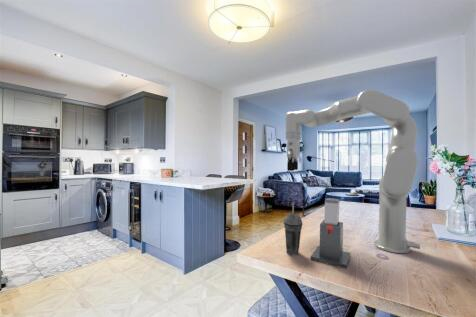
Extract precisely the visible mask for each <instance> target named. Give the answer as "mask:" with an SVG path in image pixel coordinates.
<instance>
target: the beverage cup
mask: <svg viewBox="0 0 476 317" xmlns="http://www.w3.org/2000/svg"><path fill="white" fill-rule="evenodd" d="M291 204H292V206H291V207H292V212H290V213H287V215H285V217H284V220H283V227H284V232H285V233H284V234H285V236H284V237H285V248H286V253H287V254H288V255H290V256H291V255H293V256H297V255H299V250H300V244H301V243H300V242H301V235H302V229H303V219H302V218H301V215H299V214H298V213H296V212H295V202H292V203H291Z"/></svg>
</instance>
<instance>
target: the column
mask: <svg viewBox="0 0 476 317" xmlns="http://www.w3.org/2000/svg"><path fill="white" fill-rule="evenodd" d="M324 220H325V221H324V224H328V225H334V226H338V225H339V222H340V199H339V198H332V197H331V198H330V197H327V198H325V199H324Z"/></svg>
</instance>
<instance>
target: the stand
mask: <svg viewBox="0 0 476 317" xmlns="http://www.w3.org/2000/svg"><path fill="white" fill-rule="evenodd" d="M324 221H325V219H323V220H322V221H321V222H320V224H319V245H318V246H317V247H316V248H315V249H314V251H313V252H312V254H311V256H310V260H311V261H314V262H318V263H322V264H326V265H330V266H335V267H338V268H343V269H348V266H349V262H350V259H351V252H350V251H349V252H348V251H344V250H343V247H344V246H343V245H344V243H343V242H344V222H341V221H339V225H338V226H334V225H328V224H324Z"/></svg>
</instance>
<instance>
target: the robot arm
mask: <svg viewBox="0 0 476 317" xmlns="http://www.w3.org/2000/svg"><path fill="white" fill-rule="evenodd" d="M369 113H370V114H373V115H375V116H377V117H380V118H382V121H383V122H384V124H386V125H387V126H388V127H390V128H391V132H392V134H391V139H390V144H389V147H388V152H387V154H386V157H385V159H386V160H385V161H386V165H385V170H384V173H383V176H381V178H380V179H379V184H378V190H379V195H378V196H379V205H378V206H379V208H378V239H375V240H374V242H373V244H374V246H375V247H376V248H378V249H381V250H383V251H385V252H389V253H395V254H408V253H410V252H411V248H413V249H418V250H421V244H420V243H416V241H410V240H408V239H407V236H406V235H407V234H406V233H407V195H409V193H410V192H411V190H412V187H413V184H414V183H413V182H414V179H415V177H416V176H415V175H416V171H417V167H418V163H419V162H418V161H419V160H418V155H417V153H416V152H415V148H416V143H417V138H418V125H417V122H416V121H415V119H414V118H413V117H412V116H411V115H410V108H409V106H408V105H407V103H405V102H404V101H402V100H400V99H398V98H395V97H392V96H390V95H389V94H388V95H387V94H385V93H384V92H381V91H378V90H376V89H373V88H371V89H369V88H368V89H364V90H363V91H361V92H360V93H359V94H358V95H356V96H353V97H349V98H345V99H342V100H338V101H336V102H334V103H333V104H332V105H330V106H329V107H328V108H324V109H322V110H319V111H314V110H311V109H304V110H299V111H298V110H297V111H288V112H286V114H285V140H286V143H287V144H286V158H287V163H286V164H287V165H286V166H287V172H288V171H289V172H292V171H293V172H294V171H298V169H299V161H298V160H299V159H300V158H301V157H300V156H301V151H300V148H301V147H300V140H302V134H301V132H302V125H303V126H305V127H307V128H315V127H319V126H324V125H328V124H331V123H334V122H338V121H341V120H344V119H349V118H353V117H358V116H362V115H366V114H369Z"/></svg>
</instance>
